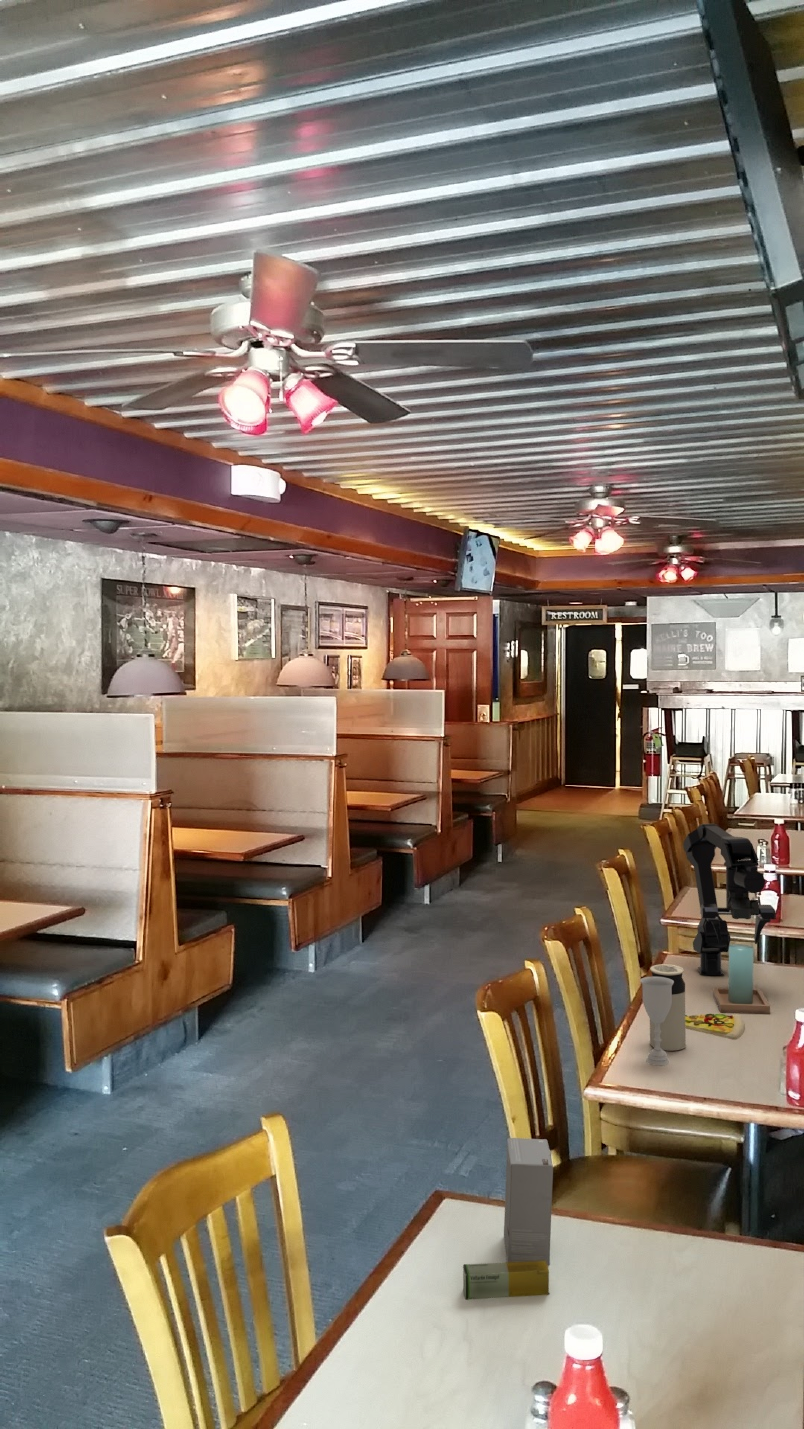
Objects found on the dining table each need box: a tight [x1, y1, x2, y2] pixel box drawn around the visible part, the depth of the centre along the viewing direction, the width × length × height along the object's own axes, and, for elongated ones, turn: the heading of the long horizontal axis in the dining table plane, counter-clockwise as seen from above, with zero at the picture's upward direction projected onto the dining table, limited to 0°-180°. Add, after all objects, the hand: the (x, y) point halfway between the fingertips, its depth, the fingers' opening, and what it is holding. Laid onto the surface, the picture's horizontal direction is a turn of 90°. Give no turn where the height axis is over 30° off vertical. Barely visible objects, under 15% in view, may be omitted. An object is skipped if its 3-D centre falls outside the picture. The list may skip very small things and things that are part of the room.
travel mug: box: [649, 963, 687, 1052], centre depth 242 cm, size 8×8×18 cm
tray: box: [712, 987, 771, 1015], centre depth 270 cm, size 14×12×2 cm
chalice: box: [639, 976, 674, 1066], centre depth 233 cm, size 7×7×18 cm
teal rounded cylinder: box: [728, 943, 754, 1004], centre depth 270 cm, size 6×6×14 cm
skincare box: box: [503, 1137, 554, 1266], centre depth 158 cm, size 8×7×16 cm
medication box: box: [462, 1261, 551, 1301], centre depth 148 cm, size 12×3×4 cm, turn 94°
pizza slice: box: [685, 1013, 746, 1040], centre depth 256 cm, size 16×21×3 cm
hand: (737, 943), depth 281 cm, fingers open, 9 cm apart
